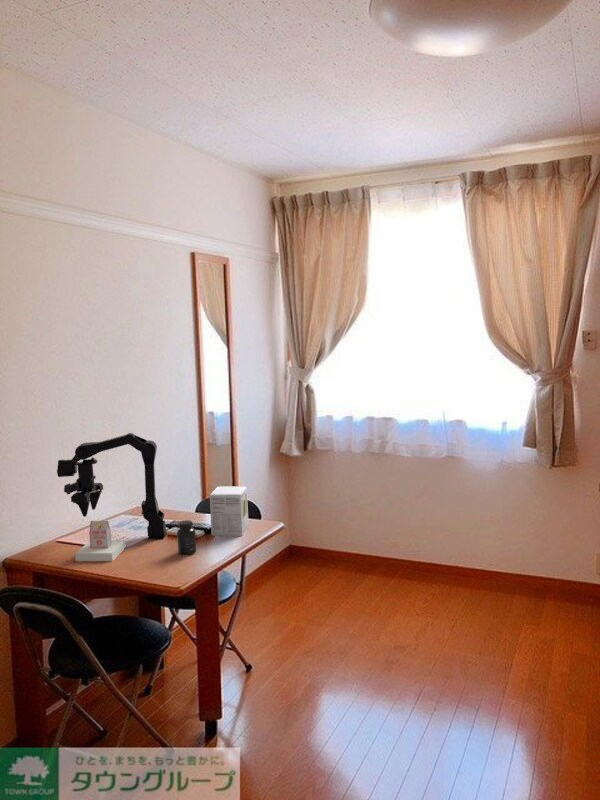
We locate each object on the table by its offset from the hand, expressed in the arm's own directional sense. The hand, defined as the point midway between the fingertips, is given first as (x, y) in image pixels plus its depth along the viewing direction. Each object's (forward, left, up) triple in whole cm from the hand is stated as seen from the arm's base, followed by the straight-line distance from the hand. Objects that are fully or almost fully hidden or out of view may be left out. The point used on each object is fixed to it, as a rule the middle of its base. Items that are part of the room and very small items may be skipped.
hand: (89, 512), depth 242 cm
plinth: (-10, +13, -12) cm, 21 cm away
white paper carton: (-10, +13, -9) cm, 19 cm away
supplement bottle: (-43, +12, -12) cm, 46 cm away
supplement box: (-55, -13, -12) cm, 57 cm away
